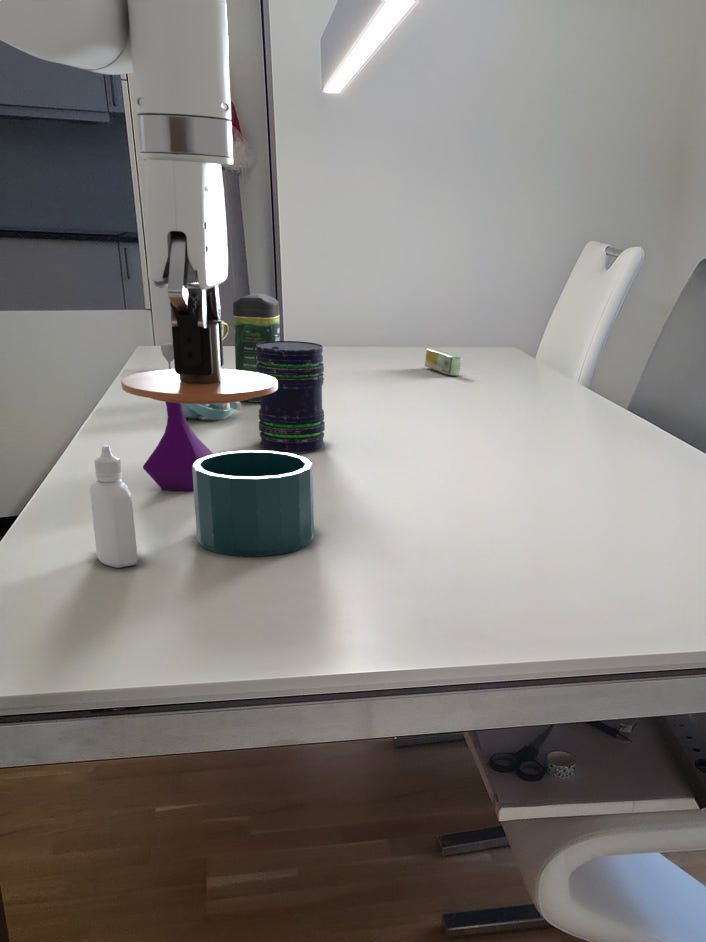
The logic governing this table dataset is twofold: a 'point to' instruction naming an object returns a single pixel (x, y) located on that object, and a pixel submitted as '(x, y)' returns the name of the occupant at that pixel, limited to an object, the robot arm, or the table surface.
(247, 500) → the tin
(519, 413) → the table surface
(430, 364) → the medication box
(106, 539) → the eye dropper bottle
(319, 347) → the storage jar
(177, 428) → the perfume bottle
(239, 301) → the coffee jar
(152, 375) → the tin lid
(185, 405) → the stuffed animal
